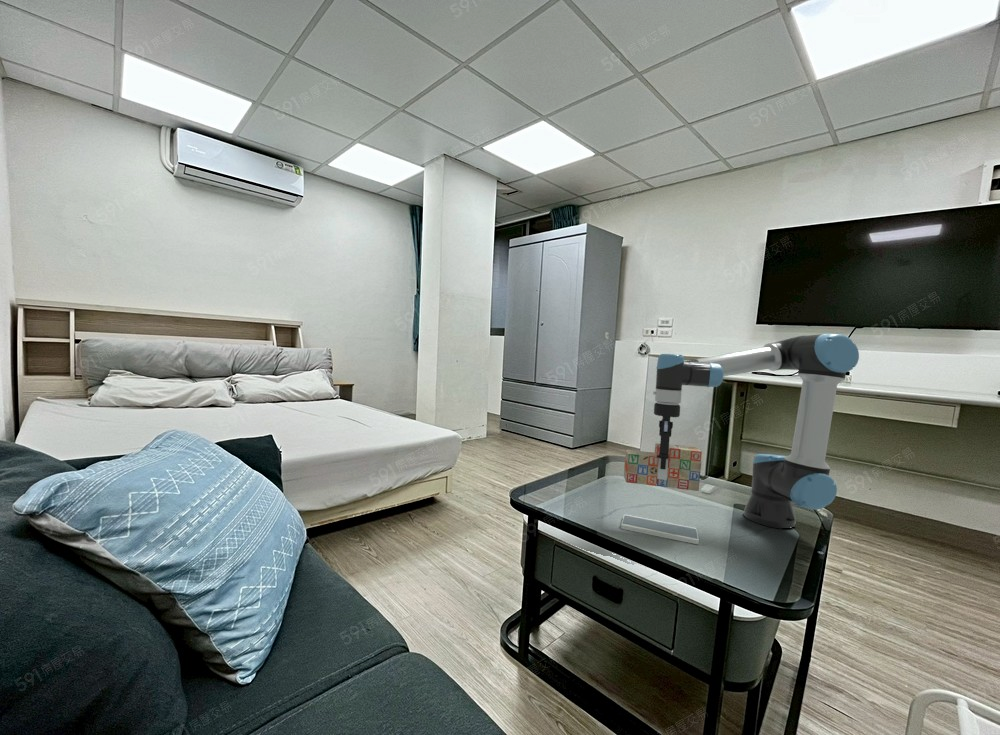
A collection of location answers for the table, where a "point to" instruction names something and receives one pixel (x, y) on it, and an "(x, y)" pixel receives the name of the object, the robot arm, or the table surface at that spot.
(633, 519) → the board
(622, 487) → the table surface
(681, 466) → the stack of blocks
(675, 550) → the table surface
